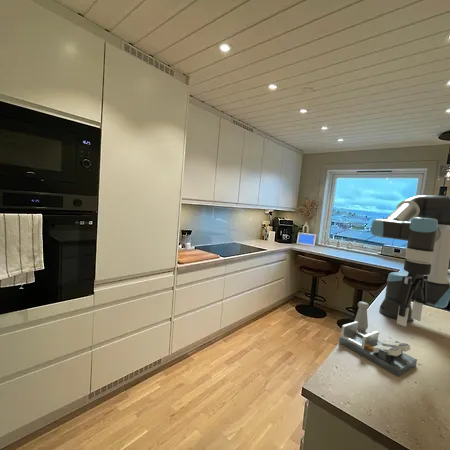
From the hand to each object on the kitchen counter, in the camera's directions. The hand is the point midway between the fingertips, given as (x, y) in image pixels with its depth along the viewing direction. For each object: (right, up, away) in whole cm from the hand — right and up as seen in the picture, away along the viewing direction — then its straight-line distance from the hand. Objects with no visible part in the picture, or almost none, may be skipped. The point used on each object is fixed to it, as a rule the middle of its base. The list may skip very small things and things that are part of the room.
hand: (408, 321), depth 91 cm
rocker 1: (-8, -10, 0) cm, 13 cm away
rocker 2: (-2, -10, +3) cm, 11 cm away
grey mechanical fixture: (-8, -15, +6) cm, 18 cm away
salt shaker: (-4, -13, +25) cm, 29 cm away
